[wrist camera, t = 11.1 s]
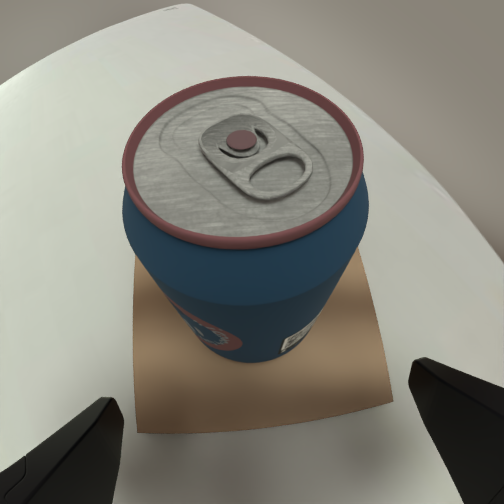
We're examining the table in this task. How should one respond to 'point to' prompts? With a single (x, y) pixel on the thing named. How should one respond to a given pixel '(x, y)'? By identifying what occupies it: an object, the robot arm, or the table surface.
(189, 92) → the soda can
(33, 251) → the table surface
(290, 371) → the coaster board
